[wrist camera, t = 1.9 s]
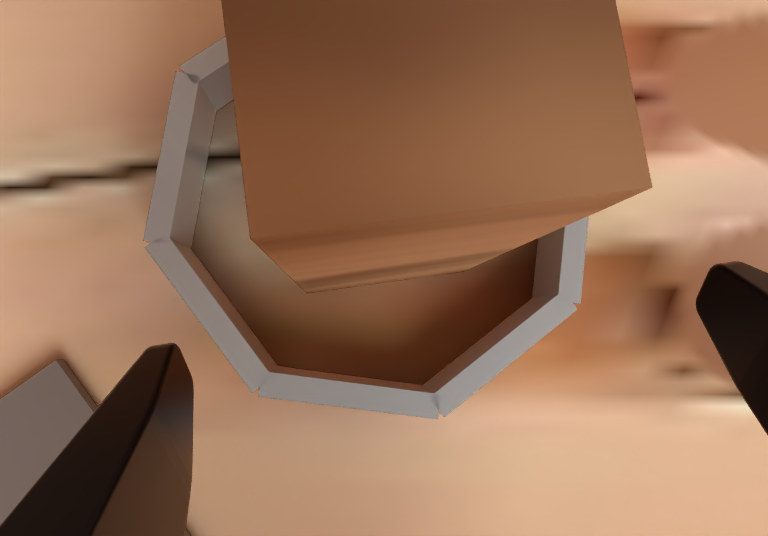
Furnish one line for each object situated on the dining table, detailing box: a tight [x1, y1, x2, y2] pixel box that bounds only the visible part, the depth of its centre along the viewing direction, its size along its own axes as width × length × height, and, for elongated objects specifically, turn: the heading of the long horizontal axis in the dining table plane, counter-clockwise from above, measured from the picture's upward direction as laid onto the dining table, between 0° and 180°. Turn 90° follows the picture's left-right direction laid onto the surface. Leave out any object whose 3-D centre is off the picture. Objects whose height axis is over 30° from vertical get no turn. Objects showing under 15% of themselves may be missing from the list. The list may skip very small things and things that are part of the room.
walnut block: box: [221, 0, 652, 293], centre depth 14 cm, size 6×6×12 cm
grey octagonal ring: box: [143, 36, 589, 419], centre depth 19 cm, size 15×15×2 cm
